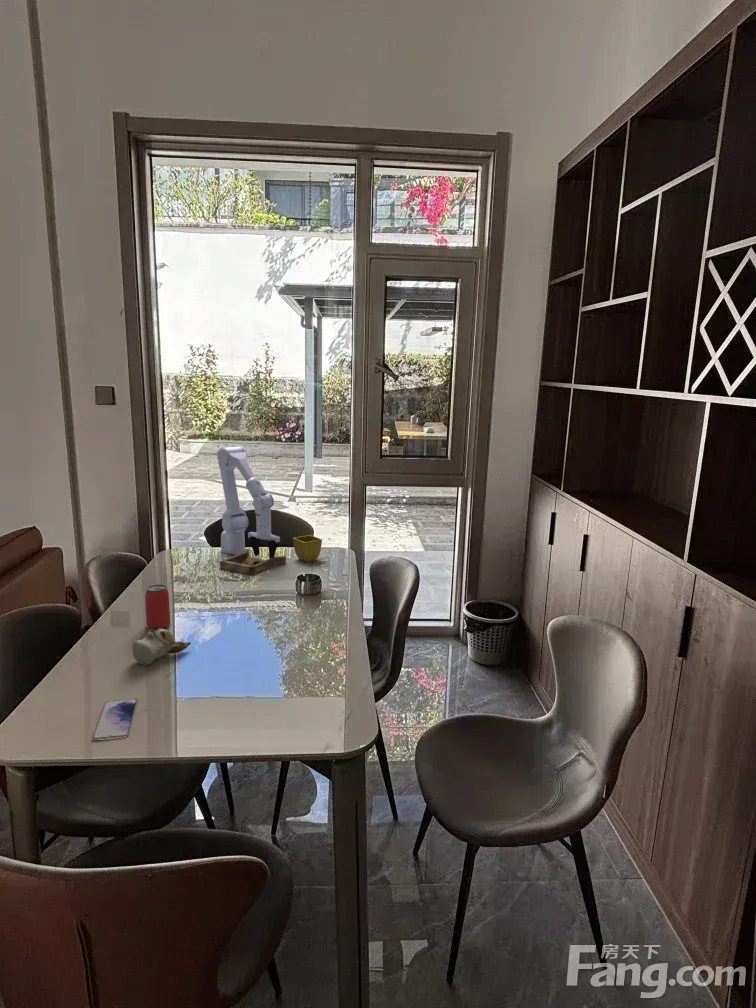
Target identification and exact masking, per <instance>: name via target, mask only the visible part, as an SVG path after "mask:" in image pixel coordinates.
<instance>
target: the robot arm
mask: <svg viewBox="0 0 756 1008" xmlns="http://www.w3.org/2000/svg"><path fill="white" fill-rule="evenodd" d="M216 456H217V462H218V467H219V471H220V476H221V477H220V478H221V481H222V489H223V494H224V501H225V507H226V510H225V511H224V512H223V513H222V514H221V518H222V519H221V520H222V521H221V526H222V528H223V531H222V532H221V533H220V550H219V552H220V553H225V554H231V555H234V556H235V555H237V554H240V553H243V551H244V550H245V549H246V547H245V546H246V542H245V531H247V528H248V526H249V518H248V516H247V514H246V510H245V509H243V508H242V507H241V506H240V499H239V495H238V488H237V482H236V477H235V476H236V475H235V469H236V468H237V470H238V471H239V472H240V474H241V475H242V477H243V479H244V480H245V481H246V483H245V487H246V489H247V491H248V492H249V494H250V496H251V498H252V499H253V501H252V506H253V508H254V514H255V520H256V522H255V525H256V529H255V530H256V531H250V532H248V533H247V537H248V543H249V544H250V546H251V548H252V551H253V555H254V557H257V556H260V544H261V540H264V541H268V542H266V545H267V548H268V556H269V557H268V559H270V558H272V557H276V553H277V549H278V546H279V544H280V542H281V536H278V535H276V534H273V533H272V514H271V513H272V511H271V510H272V507H273V506H274V503H275V501H274V497H273V494H271V493H270V492H268V491H266V490H265V488H264V486H263V484H262V483H261V481H260V479H259V478H257V477H255V476H254V474H253V471H252V469H251V467H250V466H249V463H248V461H247V458H248V457H247V452H246V450H245V449H244V447H243V446H242V445H237V446H230V447H229V446H228V447H221V448H220V449H218V452H217V454H216Z"/></svg>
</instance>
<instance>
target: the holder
mask: <svg viewBox="0 0 756 1008" xmlns="http://www.w3.org/2000/svg"><path fill="white" fill-rule="evenodd" d="M247 558H250V549H249V548H245V550H244V551H243V553H240V554H237V555H235V554H234V555H233V556H229V557H227V558H224V559H222V560H220V561H219V569H221V570H225V571H230V572H235V573H240V574H245V575H249V576H254V575H257V574H259V573H262V572H264V571H267V570H268V569H270V568H273V567H275V566H283V565H286V564H287V561H286V560H287V557H286V556H285V555H280V556H274V557H272V558H267V559H266V560H263V561H262V560H261V561H262V562H260V563H258V564H255V565H253V566H250V565H245V564H244V563H243V562H244V561H245V559H247Z"/></svg>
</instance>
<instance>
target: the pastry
mask: <svg viewBox="0 0 756 1008" xmlns="http://www.w3.org/2000/svg"><path fill="white" fill-rule="evenodd" d="M243 562H244V563H243V564H245V565H250V566H253V565H255V564H258V563H260V562H262V560H261V559H260V558H259V557H255V556H254V557H248V558H247V559H245V561H243Z"/></svg>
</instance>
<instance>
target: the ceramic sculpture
mask: <svg viewBox="0 0 756 1008" xmlns="http://www.w3.org/2000/svg"><path fill="white" fill-rule="evenodd" d="M191 643H192V641H188V642H184V641H175V639H174V635H173V633H172V632H171V631H169V630H168V629H166V628H164V629H158V628H157V627H154V628H152V629H149V630H147V632H146V635H145V636H144V638H142V639H138V640H134V641H133V643H132V647H131V648H132V655H133V658H134V659H135V661H136V662H138V664H140V665H141V666H148V665H151V664H152V663H153V661H154V660H155V659H159V658H162V657H165V656H168V655H169V654H171V655H172V654H177V653H182V652H183V651H184V650H186V649H187V648H188V647H189V646H190V645H191Z"/></svg>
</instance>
